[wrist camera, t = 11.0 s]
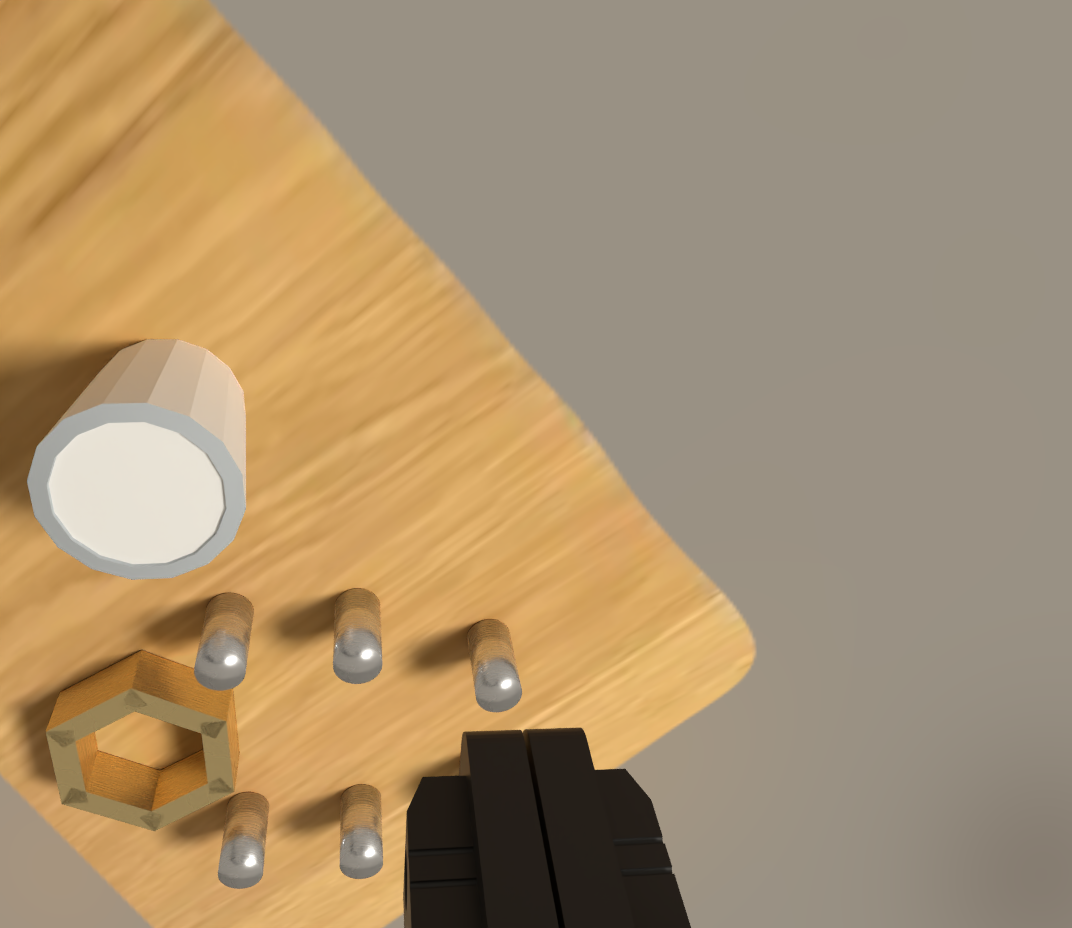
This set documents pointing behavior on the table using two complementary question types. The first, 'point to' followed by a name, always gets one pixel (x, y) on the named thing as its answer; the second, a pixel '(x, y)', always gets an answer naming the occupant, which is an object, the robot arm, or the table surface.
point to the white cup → (146, 464)
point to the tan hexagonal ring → (131, 785)
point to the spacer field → (354, 664)
